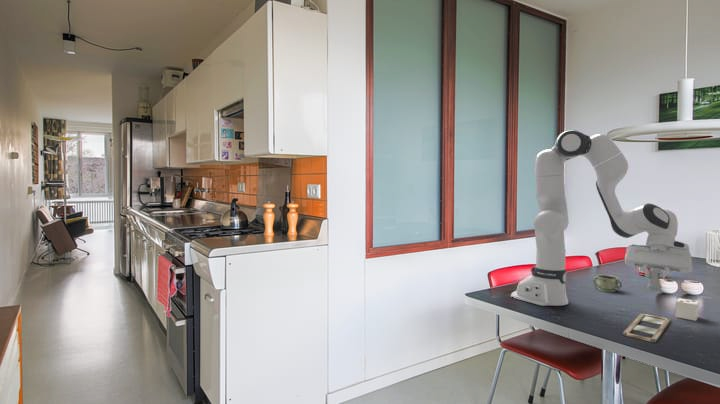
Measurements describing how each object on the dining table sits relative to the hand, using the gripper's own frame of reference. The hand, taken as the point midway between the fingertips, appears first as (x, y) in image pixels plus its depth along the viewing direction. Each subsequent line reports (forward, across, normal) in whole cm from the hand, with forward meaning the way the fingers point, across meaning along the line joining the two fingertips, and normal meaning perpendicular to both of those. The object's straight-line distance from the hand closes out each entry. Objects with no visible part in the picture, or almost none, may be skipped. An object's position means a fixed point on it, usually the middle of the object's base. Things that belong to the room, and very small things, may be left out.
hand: (654, 277), depth 148 cm
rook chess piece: (+3, 0, +4) cm, 5 cm away
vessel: (-15, -23, +38) cm, 47 cm away
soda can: (-49, -14, +72) cm, 88 cm away
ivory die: (+1, +8, +22) cm, 23 cm away
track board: (+18, 0, +5) cm, 19 cm away
